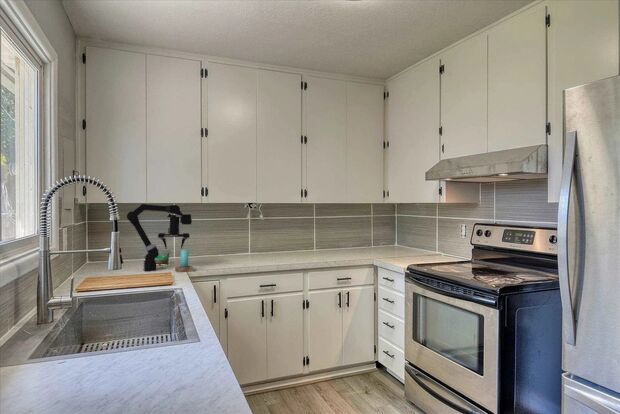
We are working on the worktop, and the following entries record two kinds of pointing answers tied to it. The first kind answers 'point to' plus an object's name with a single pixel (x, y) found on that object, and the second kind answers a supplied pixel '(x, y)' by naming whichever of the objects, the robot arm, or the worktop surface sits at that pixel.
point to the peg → (184, 258)
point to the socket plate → (184, 269)
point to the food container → (162, 257)
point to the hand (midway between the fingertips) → (173, 248)
